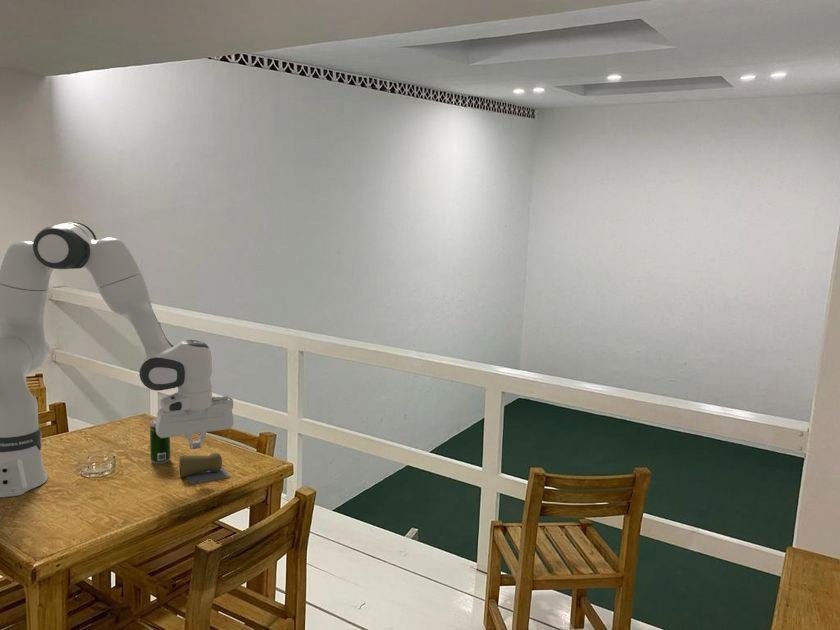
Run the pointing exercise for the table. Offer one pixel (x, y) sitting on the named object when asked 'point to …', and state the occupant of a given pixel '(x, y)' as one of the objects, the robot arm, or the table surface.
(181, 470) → the cork
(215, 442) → the table surface
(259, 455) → the table surface
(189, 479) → the mat
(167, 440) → the beer can
